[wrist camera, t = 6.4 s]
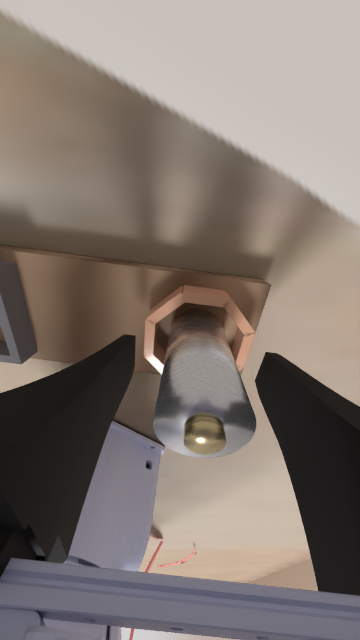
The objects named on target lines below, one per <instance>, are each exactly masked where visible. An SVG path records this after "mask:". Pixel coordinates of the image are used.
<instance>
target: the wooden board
mask: <svg viewBox="0 0 360 640" xmlns="http://www.w3.org/2000/svg"><path fill="white" fill-rule="evenodd" d="M0 261H5V262H13V263H16V266H17V270H18V274H19V278H20V282H21V286H22V290H23V294H24V298H25V302H26V306H27V310H28V314H29V319H30V323H31V327H32V331H33V335H34V339H35V343H36V347H37V351H38V352H37V353H35V354H34V355H33V356H31V357H30V358H34V359H42V360H50V361H58V362H67V363H75V364H76V363H78V362H80V361H82V360H83V359H85V358H87V357H89V356H90V355H92V354H94V353H96V352H97V351H99V350H101V349H102V348H104V347H105V346H107V345H108V344H110V343H112V342H113V341H115V340H116V339H118V338H119V337H121V336H122V335H124V334H127V335H135V336H136V343H135V367H134V371H139V372H147V373H155V374H161V373H160V372H159V371H158V370H157V369H156V368H155V367H154V366H153V365H152V364H151V363H150V362H149V361H148V360H147V359H146V358H145V356H144V338H145V319H146V317H147V316H148V314H149V312H150V310H151V308H153V307H154V306H155V305H157V304H158V303H159V302H161V301H162V300H163V299H165V298H166V297H167V296H169V295H170V294H171V293H172V292H174V291H175V290H176V289H178V288H179V287H180V286H183V287H184V285H188V286H196V287H204V288H211V289H219V290H225V291H227V293H228V294H229V295H230V297H231V298H232V300H233V301H234V303H235V304H236V305H237V307H238V308H239V310H240V311H241V313H242V314H243V315H244V317H245V318H246V320H247V321H248V323H249V324H250V326H251V327H252V329H253V330H254V331H255V332H256V329H257V326H258V323H259V320H260V317H261V314H262V311H263V308H264V305H265V302H266V299H267V296H268V293H269V290H270V287H271V284H269V283H267V282H266V281H264V280H262V279H255V278H247V277H240V276H232V275H224V274H217V273H209V272H202V271H194V270H187V269H179V268H171V267H164V266H156V265H149V264H141V263H133V262H126V261H118V260H111V259H103V258H96V257H88V256H80V255H73V254H65V253H58V252H50V251H42V250H35V249H27V248H20V247H12V246H5V245H0ZM192 308H201V309H205V310H208V311H210V312H212V313H213V314H215V315H216V316H217V317H218V319H219V320H220V322H221V325H222V327H223V330H224V333H225V336H226V338H227V341H228V344H229V346H230V349H231V348H232V345H233V341H234V338H235V334H236V331H237V327H238V326H237V324H236V323H235V322H234V320H233V319H232V317H231V316H230V315H229V313H228V312H227V311H226V309H225V308H224V307H217V306H209V305H202V304H194V303H186V302H185V303H183V304H182V305H181V306H179V307H178V308H176V309H175V310H174V311H172V312H171V313H169V314H168V315H167V316H165V317H164V318H163V319H161V320H160V321H158V331H157V343H158V344H159V345H160V346H161V347H162V349H163V350H164V351H165V352H166V350H167V345H168V340H169V335H170V329H171V325H172V322H173V321H174V319H175V318H176V317H177V316H178V315H179V314H180V313H182V312H183V311H185V310H188V309H192ZM255 332H254V333H255ZM0 341H6V340H5V337H4V334H3V331H2V328H1V325H0ZM242 371H243V368H242V370H240V371H239V374H240V376H241V374H242Z"/></svg>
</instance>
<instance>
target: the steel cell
mask: <svg viewBox="0 0 360 640" xmlns="http://www.w3.org/2000/svg"><path fill="white" fill-rule="evenodd" d="M153 428H154V431H155V434H156V436H157V437H158V439H159V440H160V441H161V442H162V443H163V444H164V445H165V446H167V447H168V448H169V449H171V450H173V451H175V452H177V453H180V454H183V455H186V456H191V457H198V458H212V457H219V456H223V455H227V454H230V453H232V452H235V451H237V450H238V449H240V448H242V447H243V446H244V445H246V444H247V443H248V442H249V441H250V439H251V438H252V436H253V435H254V432H255V429H256V418H255V414H254V412H253V409H252V406H251V404H250V401H249V398H248V395H247V393H246V390H245V387H244V385H243V382H242V379H241V376H240V374H239V371H238V368H237V365H236V363H235V360H234V357H233V355H232V352H231V349H230V346H229V344H228V341H227V338H226V336H225V333H224V330H223V327H222V325H221V322H220V320H219V319H218V317H217V316H216V315H215V314H213V313H212V312H210V311H208V310H205V309H201V308H192V309H188V310H185V311H183V312H182V313H180V314H179V315H178V316H177V317H176V318H175V319H174V321H173V322H172V325H171V329H170V335H169V340H168V345H167V350H166V356H165V361H164V366H163V371H162V377H161V382H160V387H159V392H158V398H157V403H156V408H155V414H154V419H153Z"/></svg>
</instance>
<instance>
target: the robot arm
mask: <svg viewBox="0 0 360 640" xmlns="http://www.w3.org/2000/svg"><path fill="white" fill-rule="evenodd" d="M135 343H136V336H135V335H127V334H124V335H122V336H121V337H119V338H118V339H116V340H115V341H113V342H112V343H110V344H108V345H107V346H105V347H104V348H102V349H101V350H99V351H97V352H96V353H94V354H92V355H90V356H89V357H87V358H85V359H83V360H82V361H80V362H78V363H76V364H74V365H72V366H70V367H68V368H66V369H63V370H61V371H59V372H57V373H54V374H52V375H50V376H47V377H44V378H42V379H39V380H37V381H34V382H32V383H29V384H27V385H24V386H21V387H18V388H15V389H12V390H9V391H6V392H3V393H0V640H121V627H126V628H136V629H145V630H155V631H165V632H174V633H183V634H193V635H202V636H212V637H222V638H231V639H241V640H360V407H359V406H357V405H356V404H354V403H352V402H350V401H349V400H347V399H345V398H344V397H342V396H341V395H339V394H337V393H336V392H334V391H333V390H331V389H330V388H328V387H326V386H325V385H323V384H322V383H320V382H319V381H317V380H316V379H314V378H313V377H312V376H310V375H309V374H307V373H306V372H304V371H303V370H301V369H300V368H299V367H297V366H296V365H294V364H293V363H291V362H290V361H288V360H287V359H285V358H284V357H282V356H281V355H279V354H277V353H269V352H266V353H265V356H264V358H263V361H262V364H261V366H260V369H259V371H258V374H257V377H256V379H255V383H256V387H257V390H258V394H259V397H260V400H261V402H262V405H263V407H264V410H265V412H266V414H267V417H268V419H269V421H270V424H271V426H272V428H273V431H274V433H275V435H276V438H277V440H278V442H279V445H280V448H281V450H282V453H283V456H284V460H285V463H286V466H287V469H288V472H289V475H290V479H291V482H292V485H293V489H294V492H295V496H296V499H297V503H298V507H299V510H300V514H301V518H302V522H303V526H304V529H305V533H306V537H307V542H308V546H309V550H310V555H311V559H312V563H313V567H314V572H315V576H316V582H317V586H318V591H311V590H301V589H292V588H283V587H274V586H265V585H256V584H247V583H237V582H228V581H219V580H210V579H201V578H191V577H182V576H173V575H164V574H155V573H146V572H137V571H138V569H139V567H140V565H141V562H142V560H143V557H144V554H145V551H146V547H147V544H148V540H149V536H150V531H151V525H152V518H153V510H154V502H155V494H156V486H157V479H158V471H159V463H160V455H161V454H163V453H164V450H165V448H164V446H162V445H160V444H158V443H156V442H154V441H152V440H150V439H148V438H146V437H144V436H142V435H140V434H138V433H136V432H134V431H132V430H130V429H128V428H126V427H124V426H122V425H120V424H118V423H116V422H114V421H112V420H113V418H114V416H115V414H116V411H117V409H118V407H119V405H120V403H121V400H122V398H123V396H124V394H125V392H126V390H127V387H128V385H129V383H130V380H131V377H132V374H133V371H134V367H135Z"/></svg>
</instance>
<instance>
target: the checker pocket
mask: <svg viewBox="0 0 360 640" xmlns="http://www.w3.org/2000/svg"><path fill="white" fill-rule="evenodd" d="M0 325H1V328H2V331H3V334H4V337H5V340H6V341H0V362H8V363H16V364H22V363H24V362H25V361H26V360H28V359H29V358H30V357H31V356H33V355H34V354H35V353H37V352H38V351H37V347H36V343H35V339H34V335H33V331H32V327H31V323H30V319H29V314H28V310H27V306H26V302H25V298H24V294H23V290H22V286H21V282H20V278H19V274H18V270H17V266H16V263H13V262H5V261H0Z"/></svg>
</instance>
